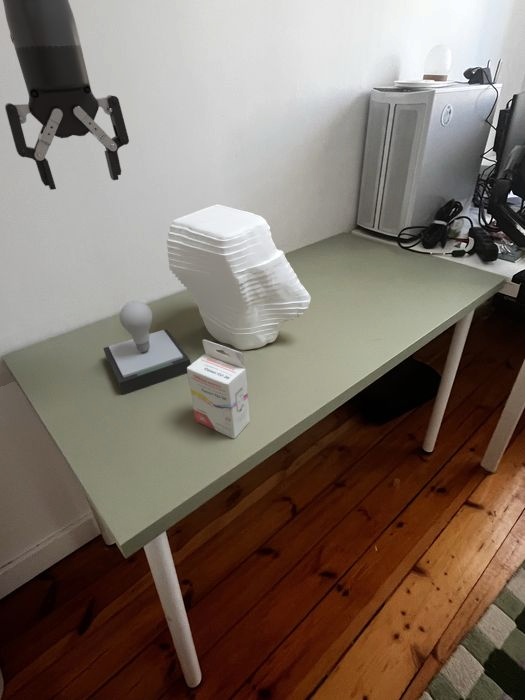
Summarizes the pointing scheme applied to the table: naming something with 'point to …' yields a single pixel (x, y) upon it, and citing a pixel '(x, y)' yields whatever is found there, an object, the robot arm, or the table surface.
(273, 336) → the white layered head sculpture
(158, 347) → the scale
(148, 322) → the lightbulb
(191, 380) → the ink cartridge box
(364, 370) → the table surface
